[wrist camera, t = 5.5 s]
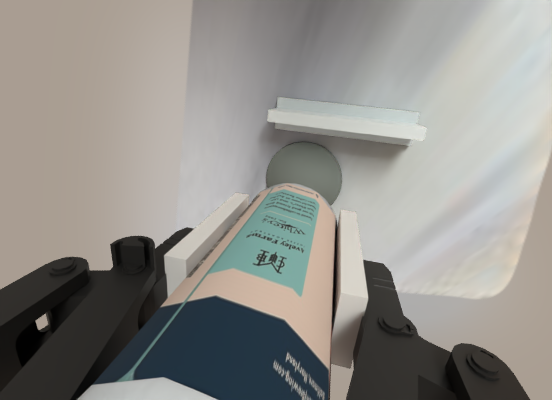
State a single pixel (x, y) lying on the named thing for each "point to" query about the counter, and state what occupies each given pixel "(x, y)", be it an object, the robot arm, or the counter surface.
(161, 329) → the beer can
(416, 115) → the divider
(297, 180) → the coaster
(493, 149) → the counter surface
